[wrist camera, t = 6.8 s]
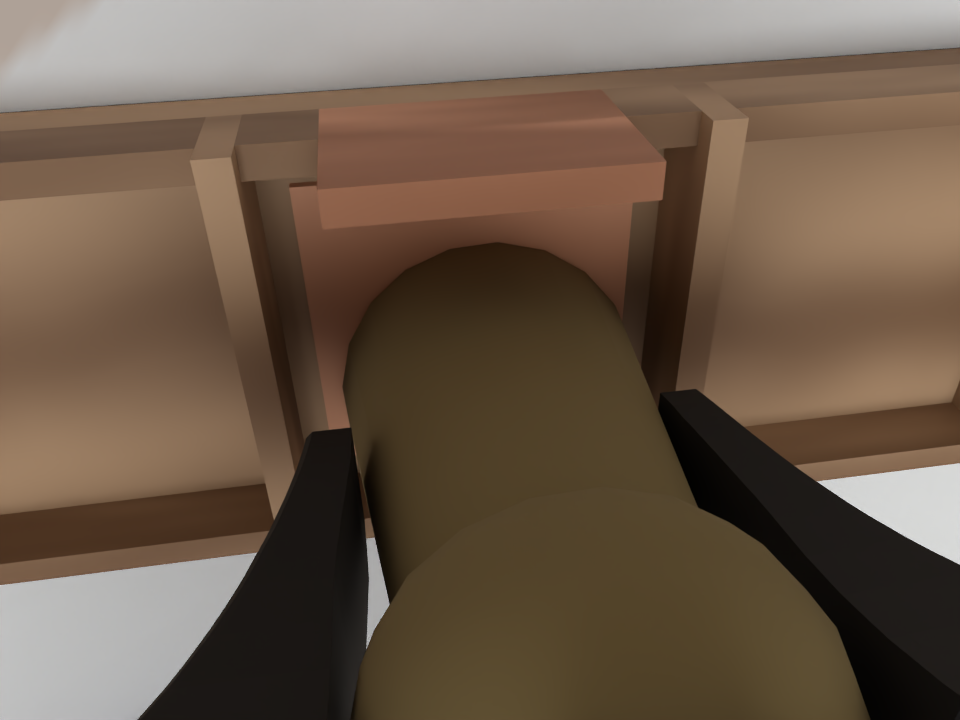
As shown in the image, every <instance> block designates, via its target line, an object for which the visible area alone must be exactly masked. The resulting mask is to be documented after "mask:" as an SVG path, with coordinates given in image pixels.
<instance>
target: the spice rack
mask: <svg viewBox="0 0 960 720" xmlns="http://www.w3.org/2000/svg"><path fill="white" fill-rule="evenodd" d="M495 242H500V243H506V244H512V245H517V246H523V247H529V248H535V249H540V250H545V251H547V252H549V253H551V254H553V255H555V256H557V257H558V258H560V259H562V260H564V261H566V262H568V263H569V264H571V265H573V266H575V267H577V268H579V269H581V270H582V271H584V272H586V273H587V274H588V276H589V277H590V278H591V279H592V280H593V281H594V282H595V283H596V284H597V285H598V287H599V288H600V289H601V290H602V291H603V292H604V293H605V294H606V295H607V296H608V298H609V299H610V300H611V301H612V302H613V303H614V304H615V306H616V308H617V311H618V313H619V316H620V318H621V321H622V323H623V325H624V328H625V330H626V333H627V335H628V338H629V340H630V342H631V345H632V347H633V350H634V352H635V355H636V357H637V360H638V362H639V364H640V367H641V369H642V372H643V374H644V377H645V379H646V382H647V384H648V386H649V389H650V391H651V394H652V396H653V399H654V401H655V404H656V406H657V408H658V405H659V398H660V393H663V392H672V391H681V390H689V389H697V390H698V391H700V392H701V393H702V394H704V395H705V396H706V397H707V398H709V399H710V400H711V401H712V402H714V403H715V404H716V405H717V406H719V407H720V408H721V409H722V410H724V411H725V412H726V413H727V414H729V415H730V416H731V417H732V418H734V419H735V420H736V421H737V422H739V423H740V424H741V425H742V426H744V427H745V428H746V429H747V430H749V431H750V432H751V433H752V434H754V435H755V436H756V437H757V438H759V439H760V440H761V441H762V442H764V443H765V444H766V445H768V446H769V447H770V448H771V449H773V450H774V451H775V452H777V453H778V454H779V455H781V456H782V457H783V458H785V459H786V460H787V461H789V462H790V463H791V464H793V465H794V466H795V467H797V468H798V469H800V470H801V471H802V472H804V473H805V474H807V475H808V476H809V477H811V478H812V479H813V480H815V481H822V480H830V479H838V478H846V477H854V476H861V475H869V474H877V473H885V472H893V471H901V470H909V469H916V468H924V467H932V466H940V465H948V464H956V463H960V48H954V49H939V50H924V51H910V52H895V53H880V54H865V55H851V56H836V57H821V58H806V59H792V60H777V61H762V62H748V63H733V64H718V65H703V66H689V67H674V68H659V69H645V70H630V71H615V72H600V73H586V74H571V75H556V76H541V77H527V78H512V79H497V80H483V81H468V82H453V83H438V84H424V85H409V86H394V87H379V88H365V89H350V90H335V91H321V92H306V93H291V94H276V95H262V96H247V97H232V98H217V99H203V100H188V101H173V102H159V103H144V104H129V105H114V106H100V107H85V108H70V109H55V110H41V111H26V112H11V113H0V585H4V584H12V583H20V582H28V581H36V580H44V579H52V578H59V577H67V576H75V575H83V574H91V573H99V572H107V571H114V570H122V569H130V568H138V567H146V566H154V565H162V564H169V563H177V562H185V561H193V560H201V559H209V558H217V557H225V556H232V555H240V554H248V553H256V552H258V551H259V549H260V547H261V545H262V544H263V542H264V540H265V538H266V536H267V534H268V532H269V530H270V528H271V526H272V524H273V522H274V520H275V517H276V515H277V513H278V511H279V509H280V507H281V505H282V502H283V500H284V498H285V496H286V494H287V491H288V489H289V486H290V484H291V481H292V479H293V477H294V474H295V471H296V469H297V466H298V463H299V460H300V457H301V454H302V451H303V448H304V444H305V440H306V438H307V437H308V436H309V435H310V434H311V433H312V432H314V431H323V430H332V429H341V428H350V424H349V419H348V414H347V409H346V403H345V398H344V393H343V388H342V386H343V379H344V373H345V366H346V360H347V353H348V347H349V343H350V341H351V339H352V337H353V335H354V333H355V331H356V330H357V328H358V326H359V324H360V322H361V320H362V318H363V316H364V315H365V313H366V311H367V309H368V307H369V305H370V303H371V302H372V301H373V300H374V299H375V298H377V297H378V296H379V295H380V294H381V293H382V292H383V291H384V290H385V289H386V288H387V287H388V286H389V285H390V284H391V283H392V282H393V281H394V280H395V279H397V278H398V277H399V276H400V275H401V274H402V273H403V272H404V271H405V270H407V269H409V268H411V267H413V266H415V265H417V264H419V263H421V262H423V261H425V260H428V259H430V258H432V257H434V256H436V255H438V254H440V253H442V252H444V251H446V250H448V249H453V248H460V247H467V246H474V245H481V244H488V243H495ZM354 449H355V447H354ZM355 456H356V451H355ZM356 463H357V470H358V477H359V484H360V491H361V498H362V505H363V512H364V518H365V531H366V538H374V537H375V536H374V532H373V527H372V523H371V518H370V514H369V509H368V505H367V500H366V496H365V491H364V487H363V483H362V478H361V474H360V469H359V465H358V460H357V456H356Z"/></svg>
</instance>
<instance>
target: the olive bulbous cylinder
mask: <svg viewBox="0 0 960 720" xmlns="http://www.w3.org/2000/svg"><path fill="white" fill-rule="evenodd" d="M342 388H343V393H344V398H345V403H346V409H347V414H348V419H349V424H350V427H351V429H352V436H353V442H354V447H355V451H356V456H357V460H358V465H359V469H360V474H361V478H362V483H363V487H364V491H365V496H366V500H367V505H368V509H369V514H370V518H371V523H372V527H373V532H374V536H375V540H376V545H377V549H378V554H379V558H380V563H381V567H382V572H383V576H384V581H385V585H386V590H387V594H388V598H389V603H390V605H389V607H388V609H387V610H386V612H385V614H384V615H383V617H382V618H381V620H380V622H379V623H378V625H377V627H376V628H375V630H374V632H373V635H372V637H371V640H370V642H369V645H368V647H367V650H366V652H365V655H364V657H363V660H362V662H361V665H360V668H359V674H358V679H357V684H356V690H355V695H354V701H353V706H352V711H351V717H350V720H871V719H870V717H869V714H868V711H867V708H866V705H865V702H864V700H863V697H862V694H861V691H860V688H859V686H858V683H857V680H856V677H855V674H854V672H853V669H852V666H851V664H850V661H849V659H848V656H847V653H846V651H845V648H844V645H843V643H842V640H841V637H840V635H839V632H838V630H837V627H836V626H835V625H834V624H833V622H832V621H831V620H830V619H829V617H828V616H827V615H826V614H825V612H824V611H823V610H822V609H821V607H820V606H819V605H818V604H817V602H816V601H815V600H814V599H813V597H812V596H811V595H810V594H809V592H808V591H807V590H806V589H805V588H804V587H803V586H802V585H801V584H800V583H799V582H798V580H797V579H796V578H795V577H794V576H793V575H792V574H791V573H790V572H789V571H788V570H787V569H786V568H785V567H784V566H783V565H782V564H781V563H780V562H779V561H778V560H777V559H776V558H775V556H774V555H773V554H772V553H771V552H770V551H769V550H768V549H767V548H766V547H765V546H764V545H763V544H762V543H760V542H759V541H757V540H755V539H754V538H752V537H751V536H749V535H748V534H746V533H745V532H743V531H742V530H740V529H739V528H737V527H736V526H734V525H733V524H731V523H730V522H728V521H725V520H723V519H721V518H719V517H717V516H715V515H713V514H711V513H708V512H706V511H704V510H702V509H700V508H698V506H697V504H696V502H695V499H694V497H693V494H692V492H691V489H690V487H689V484H688V482H687V479H686V477H685V475H684V472H683V470H682V467H681V465H680V462H679V460H678V457H677V455H676V453H675V450H674V448H673V445H672V443H671V440H670V438H669V436H668V433H667V431H666V428H665V426H664V423H663V421H662V418H661V416H660V414H659V411H658V408H657V406H656V404H655V401H654V399H653V396H652V394H651V391H650V389H649V386H648V384H647V382H646V379H645V377H644V374H643V372H642V369H641V367H640V364H639V362H638V360H637V357H636V355H635V352H634V350H633V347H632V345H631V342H630V340H629V338H628V335H627V333H626V330H625V328H624V325H623V323H622V321H621V318H620V316H619V313H618V311H617V308H616V306H615V304H614V303H613V302H612V301H611V300H610V299H609V298H608V296H607V295H606V294H605V293H604V292H603V291H602V290H601V289H600V288H599V287H598V285H597V284H596V283H595V282H594V281H593V280H592V279H591V278H590V277H589V276H588V274H587V273H586V272H584V271H582V270H581V269H579V268H577V267H575V266H573V265H571V264H569V263H568V262H566V261H564V260H562V259H560V258H558V257H557V256H555V255H553V254H551V253H549V252H547V251H545V250H540V249H535V248H529V247H523V246H517V245H512V244H506V243H500V242H495V243H488V244H481V245H474V246H467V247H460V248H453V249H448V250H446V251H444V252H442V253H440V254H438V255H436V256H434V257H432V258H430V259H428V260H425V261H423V262H421V263H419V264H417V265H415V266H413V267H411V268H409V269H407V270H405V271H404V272H403V273H402V274H401V275H400V276H399V277H398V278H397V279H395V280H394V281H393V282H392V283H391V284H390V285H389V286H388V287H387V288H386V289H385V290H384V291H383V292H382V293H381V294H380V295H379V296H378V297H377V298H375V299H374V300H373V301H372V302H371V303H370V305H369V307H368V309H367V311H366V313H365V315H364V316H363V318H362V320H361V322H360V324H359V326H358V328H357V330H356V331H355V333H354V335H353V337H352V339H351V341H350V343H349V347H348V353H347V360H346V366H345V373H344V379H343V386H342Z"/></svg>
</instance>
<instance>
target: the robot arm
mask: <svg viewBox="0 0 960 720" xmlns="http://www.w3.org/2000/svg"><path fill="white" fill-rule="evenodd" d="M658 411H659V414H660V416H661V418H662V421H663V423H664V426H665V428H666V431H667V433H668V436H669V438H670V440H671V443H672V445H673V448H674V450H675V453H676V455H677V457H678V460H679V462H680V465H681V467H682V470H683V472H684V475H685V477H686V479H687V482H688V484H689V487H690V489H691V492H692V494H693V497H694V499H695V502H696V504H697V506H698V508H700V509H702V510H704V511H706V512H708V513H711V514H713V515H715V516H717V517H719V518H721V519H723V520H725V521H728V522H730V523H731V524H733V525H734V526H736V527H737V528H739V529H740V530H742V531H743V532H745V533H746V534H748V535H749V536H751V537H752V538H754V539H755V540H757V541H759V542H760V543H762V544H763V545H764V546H765V547H766V548H767V549H768V550H769V551H770V552H771V553H772V554H773V555H774V556H775V558H776V559H777V560H778V561H779V562H780V563H781V564H782V565H783V566H784V567H785V568H786V569H787V570H788V571H789V572H790V573H791V574H792V575H793V576H794V577H795V578H796V579H797V580H798V582H799V583H800V584H801V585H802V586H803V587H804V588H805V589H806V590H807V591H808V592H809V594H810V595H811V596H812V597H813V599H814V600H815V601H816V602H817V604H818V605H819V606H820V607H821V609H822V610H823V611H824V612H825V614H826V615H827V616H828V617H829V619H830V620H831V621H832V622H833V624H834V625H835V626H836V627H837V630H838V632H839V635H840V637H841V640H842V643H843V645H844V648H845V651H846V653H847V656H848V659H849V661H850V664H851V666H852V669H853V672H854V674H855V677H856V680H857V683H858V686H859V688H860V691H861V694H862V697H863V700H864V702H865V705H866V708H867V711H868V714H869V717H870V719H871V720H960V565H959V564H957V563H955V562H953V561H951V560H949V559H947V558H945V557H943V556H941V555H939V554H937V553H935V552H933V551H931V550H929V549H927V548H925V547H923V546H921V545H919V544H917V543H916V542H914V541H912V540H910V539H908V538H906V537H905V536H903V535H901V534H899V533H898V532H896V531H894V530H892V529H891V528H889V527H887V526H886V525H884V524H882V523H880V522H879V521H877V520H875V519H873V518H872V517H870V516H868V515H867V514H865V513H863V512H862V511H860V510H859V509H857V508H855V507H854V506H852V505H851V504H849V503H848V502H846V501H845V500H843V499H842V498H840V497H839V496H837V495H836V494H834V493H833V492H831V491H830V490H828V489H827V488H825V487H824V486H822V485H821V484H819V483H818V482H816V481H815V480H813V479H812V478H811V477H809V476H808V475H807V474H805V473H804V472H802V471H801V470H800V469H798V468H797V467H795V466H794V465H793V464H791V463H790V462H789V461H787V460H786V459H785V458H783V457H782V456H781V455H779V454H778V453H777V452H775V451H774V450H773V449H771V448H770V447H769V446H768V445H766V444H765V443H764V442H762V441H761V440H760V439H759V438H757V437H756V436H755V435H754V434H752V433H751V432H750V431H749V430H747V429H746V428H745V427H744V426H742V425H741V424H740V423H739V422H737V421H736V420H735V419H734V418H732V417H731V416H730V415H729V414H727V413H726V412H725V411H724V410H722V409H721V408H720V407H719V406H717V405H716V404H715V403H714V402H712V401H711V400H710V399H709V398H707V397H706V396H705V395H704V394H702V393H701V392H700V391H698V390H697V389H689V390H681V391H672V392H663V393H660V398H659V405H658ZM368 586H369V574H368V559H367V545H366V531H365V518H364V512H363V505H362V498H361V491H360V484H359V477H358V470H357V463H356V456H355V449H354V442H353V436H352V429H351V427H350V428H341V429H332V430H323V431H314V432H312V433H311V434H310V435H309V436H308V437H307V438H306V440H305V444H304V448H303V451H302V454H301V457H300V460H299V463H298V466H297V469H296V471H295V474H294V477H293V479H292V481H291V484H290V486H289V489H288V491H287V494H286V496H285V498H284V500H283V502H282V505H281V507H280V509H279V511H278V513H277V515H276V517H275V520H274V522H273V524H272V526H271V528H270V530H269V532H268V534H267V536H266V538H265V540H264V542H263V544H262V545H261V547H260V549H259V551H258V553H257V554H256V556H255V558H254V560H253V562H252V563H251V565H250V567H249V569H248V571H247V573H246V574H245V576H244V578H243V579H242V581H241V583H240V584H239V586H238V588H237V589H236V591H235V593H234V594H233V596H232V597H231V599H230V600H229V602H228V604H227V605H226V607H225V608H224V610H223V611H222V613H221V614H220V616H219V617H218V619H217V620H216V622H215V623H214V625H213V626H212V627H211V629H210V630H209V632H208V633H207V634H206V636H205V637H204V639H203V640H202V641H201V643H200V644H199V645H198V647H197V648H196V649H195V651H194V652H193V653H192V655H191V656H190V657H189V659H188V660H187V661H186V663H185V664H184V665H183V667H182V668H181V669H180V670H179V672H178V673H177V674H176V676H175V677H174V678H173V679H172V681H171V682H170V683H169V684H168V685H167V687H166V688H165V689H164V690H163V691H162V693H161V694H160V695H159V696H158V697H157V698H156V699H155V700H154V702H153V703H152V704H151V705H150V706H149V707H148V708H147V710H146V711H145V712H144V713H143V714H142V715H141V716H140V718H139V719H138V720H350V717H351V711H352V706H353V701H354V695H355V690H356V684H357V679H358V674H359V668H360V665H361V662H362V660H363V657H364V655H365V652H366V639H367V614H368Z"/></svg>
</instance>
